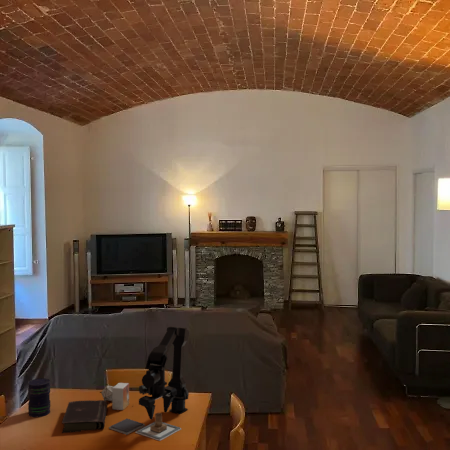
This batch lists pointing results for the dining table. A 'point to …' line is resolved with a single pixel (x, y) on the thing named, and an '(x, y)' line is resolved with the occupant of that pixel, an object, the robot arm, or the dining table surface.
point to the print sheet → (158, 436)
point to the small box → (120, 396)
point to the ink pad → (126, 426)
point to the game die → (107, 393)
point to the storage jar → (39, 397)
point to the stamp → (158, 424)
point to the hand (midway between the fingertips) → (158, 415)
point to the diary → (84, 416)
